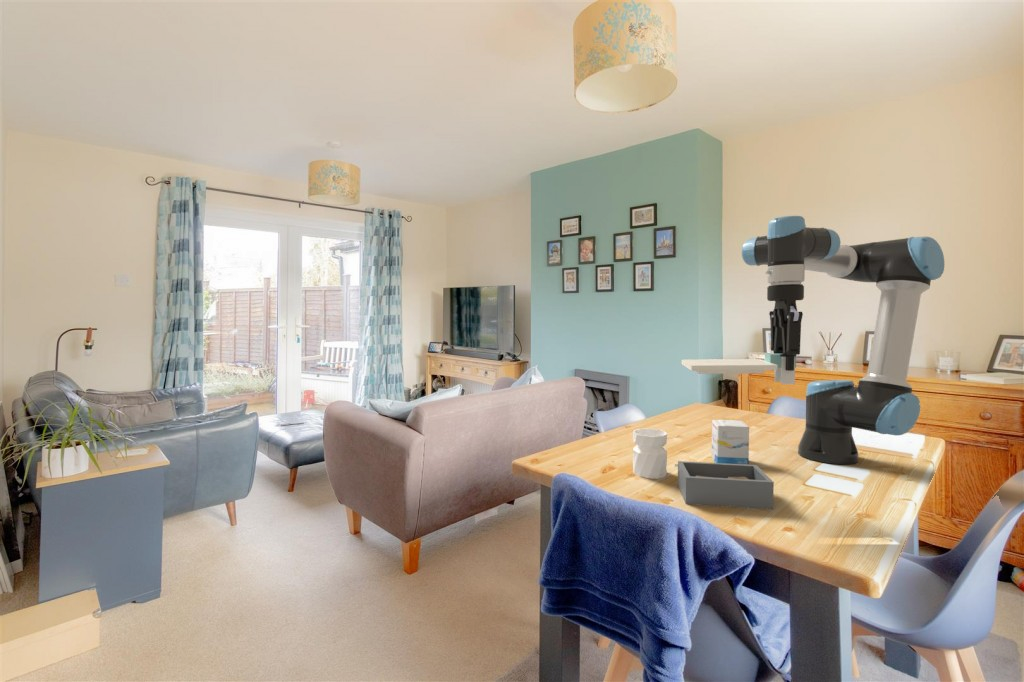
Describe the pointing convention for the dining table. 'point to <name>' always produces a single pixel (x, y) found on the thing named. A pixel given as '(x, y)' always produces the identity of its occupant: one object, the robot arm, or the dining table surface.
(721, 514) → the dining table surface
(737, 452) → the ink box
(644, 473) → the white vase
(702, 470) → the tub
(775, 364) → the cream flat block
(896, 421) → the robot arm
